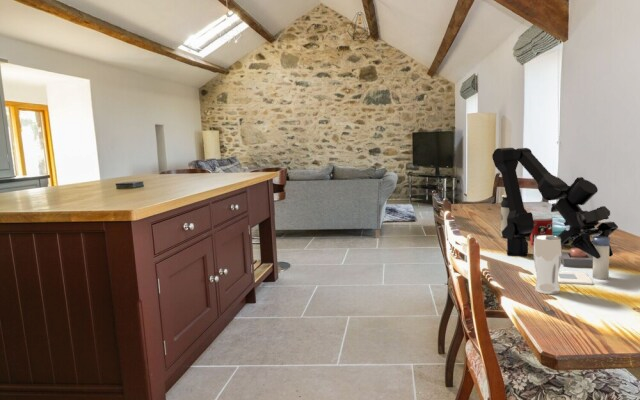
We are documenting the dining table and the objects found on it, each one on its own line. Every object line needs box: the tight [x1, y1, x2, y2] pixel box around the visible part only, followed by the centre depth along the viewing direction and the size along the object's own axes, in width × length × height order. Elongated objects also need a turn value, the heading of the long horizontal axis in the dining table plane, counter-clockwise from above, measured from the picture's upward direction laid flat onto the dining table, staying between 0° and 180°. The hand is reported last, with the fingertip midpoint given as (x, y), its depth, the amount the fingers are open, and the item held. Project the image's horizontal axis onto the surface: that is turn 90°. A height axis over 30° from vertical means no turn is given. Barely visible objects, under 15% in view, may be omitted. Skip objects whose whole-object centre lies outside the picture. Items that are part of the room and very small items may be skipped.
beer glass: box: [532, 234, 563, 295], centre depth 122 cm, size 7×7×15 cm
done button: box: [570, 247, 586, 258], centre depth 147 cm, size 4×4×3 cm
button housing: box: [561, 251, 593, 268], centre depth 147 cm, size 10×10×2 cm
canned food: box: [530, 215, 553, 247], centre depth 173 cm, size 8×8×11 cm
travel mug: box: [500, 194, 509, 238], centre depth 189 cm, size 8×8×18 cm
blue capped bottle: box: [592, 236, 611, 281], centre depth 130 cm, size 4×4×12 cm
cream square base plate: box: [558, 270, 594, 286], centre depth 132 cm, size 11×11×1 cm
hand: (605, 256), depth 129 cm, fingers open, 5 cm apart
